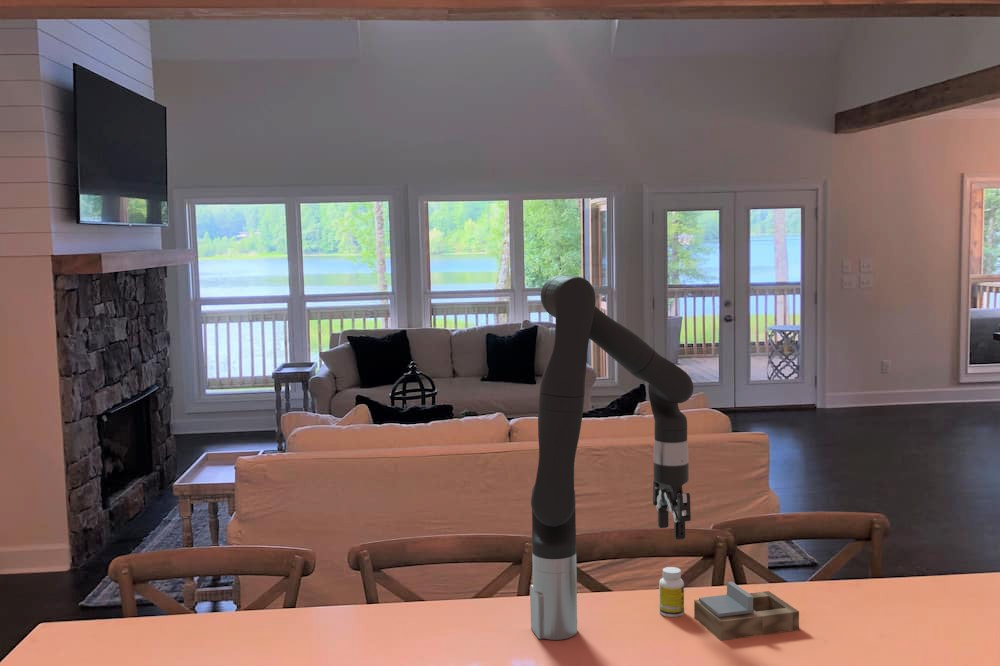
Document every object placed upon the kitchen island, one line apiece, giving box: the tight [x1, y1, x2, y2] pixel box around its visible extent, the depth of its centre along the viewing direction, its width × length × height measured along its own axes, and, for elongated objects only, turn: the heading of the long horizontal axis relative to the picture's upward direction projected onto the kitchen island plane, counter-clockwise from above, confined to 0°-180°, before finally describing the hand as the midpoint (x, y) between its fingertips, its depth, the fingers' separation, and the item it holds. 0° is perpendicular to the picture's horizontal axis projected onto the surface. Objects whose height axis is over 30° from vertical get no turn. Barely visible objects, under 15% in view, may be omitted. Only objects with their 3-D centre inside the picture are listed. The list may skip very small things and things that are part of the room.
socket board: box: [693, 590, 800, 641], centre depth 194 cm, size 18×12×4 cm, turn 104°
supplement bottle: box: [658, 566, 685, 618], centre depth 201 cm, size 5×5×10 cm
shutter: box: [698, 581, 754, 617], centre depth 193 cm, size 8×9×4 cm
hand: (671, 532), depth 199 cm, fingers open, 8 cm apart
